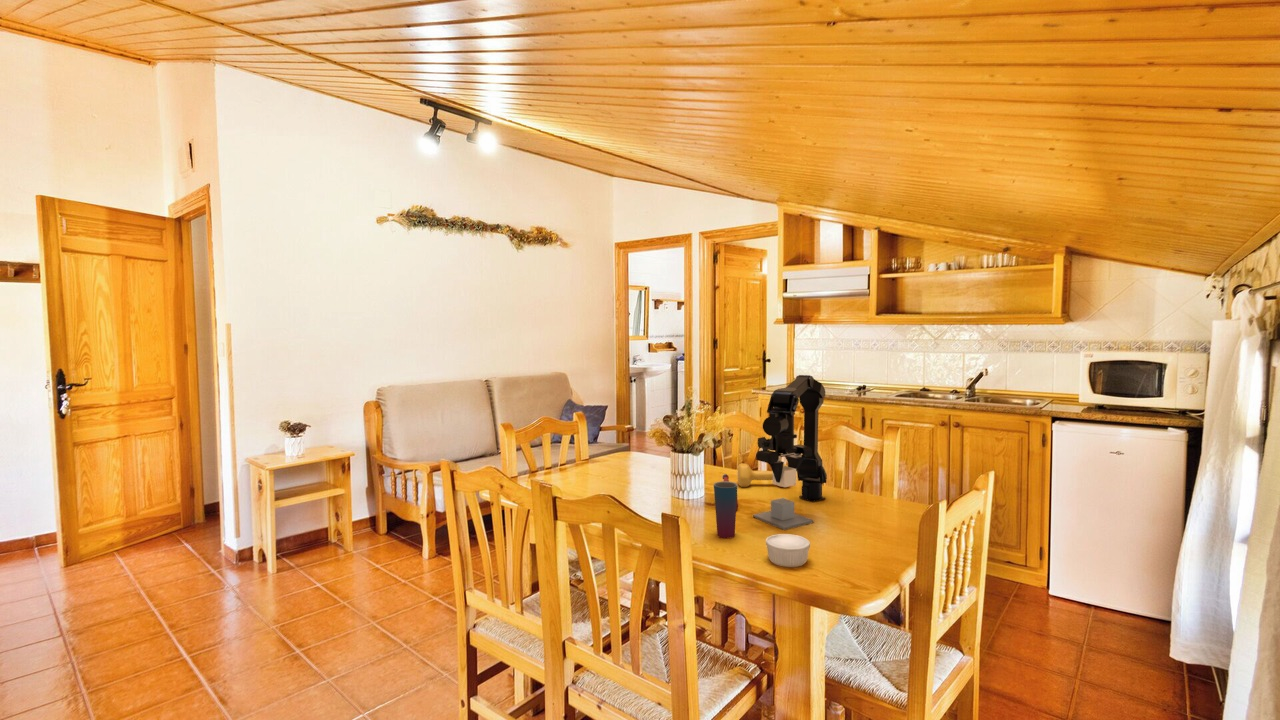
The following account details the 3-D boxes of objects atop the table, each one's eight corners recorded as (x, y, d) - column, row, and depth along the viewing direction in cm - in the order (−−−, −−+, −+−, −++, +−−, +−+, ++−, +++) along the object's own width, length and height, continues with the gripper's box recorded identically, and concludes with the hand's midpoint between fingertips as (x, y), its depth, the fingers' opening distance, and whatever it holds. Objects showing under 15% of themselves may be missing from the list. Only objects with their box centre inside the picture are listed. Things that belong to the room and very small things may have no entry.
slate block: (782, 513, 193) (782, 497, 192) (794, 517, 188) (794, 501, 188) (771, 516, 190) (770, 500, 190) (782, 520, 186) (782, 504, 186)
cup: (739, 532, 179) (739, 482, 178) (735, 540, 173) (735, 488, 172) (716, 530, 181) (716, 480, 180) (711, 538, 175) (711, 486, 174)
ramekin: (778, 549, 166) (778, 530, 166) (817, 559, 159) (817, 539, 158) (757, 562, 157) (757, 542, 157) (798, 573, 150) (798, 552, 150)
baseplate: (781, 510, 198) (781, 507, 198) (813, 522, 186) (813, 519, 186) (752, 517, 192) (752, 514, 192) (784, 530, 180) (784, 527, 180)
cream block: (796, 484, 188) (796, 468, 187) (784, 487, 185) (784, 471, 185) (784, 481, 192) (784, 465, 192) (772, 483, 189) (772, 467, 189)
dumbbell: (738, 489, 225) (738, 467, 224) (737, 482, 234) (736, 461, 233) (790, 489, 223) (790, 467, 222) (787, 483, 232) (787, 461, 231)
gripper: (786, 424, 199) (786, 471, 200) (743, 430, 189) (743, 480, 190) (813, 429, 190) (813, 478, 191) (769, 435, 180) (769, 487, 181)
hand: (784, 481), depth 188 cm, fingers closed on cream block, 5 cm apart
